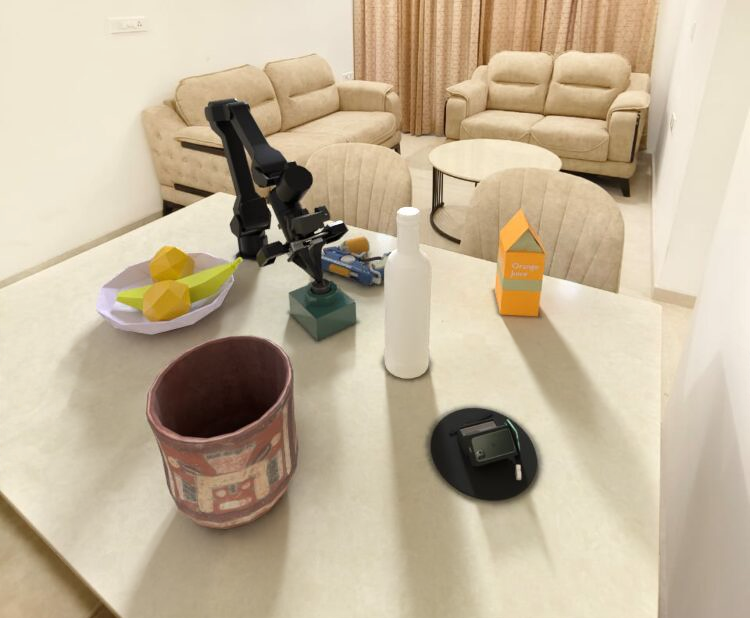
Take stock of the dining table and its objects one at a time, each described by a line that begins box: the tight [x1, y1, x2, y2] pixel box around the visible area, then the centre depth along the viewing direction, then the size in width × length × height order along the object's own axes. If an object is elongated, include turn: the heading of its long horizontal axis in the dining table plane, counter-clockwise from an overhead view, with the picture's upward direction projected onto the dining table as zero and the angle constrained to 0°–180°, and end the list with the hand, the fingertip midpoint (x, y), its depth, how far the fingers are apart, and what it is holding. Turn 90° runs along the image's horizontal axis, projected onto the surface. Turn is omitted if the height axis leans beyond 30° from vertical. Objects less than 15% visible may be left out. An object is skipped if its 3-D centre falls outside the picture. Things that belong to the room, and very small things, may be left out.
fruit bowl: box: [95, 245, 244, 336], centre depth 103 cm, size 28×27×11 cm
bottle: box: [383, 206, 433, 379], centre depth 84 cm, size 8×8×30 cm
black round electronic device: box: [430, 407, 538, 502], centre depth 71 cm, size 15×15×6 cm
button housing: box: [288, 277, 357, 342], centre depth 100 cm, size 11×9×7 cm
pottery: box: [145, 334, 299, 530], centre depth 65 cm, size 18×18×18 cm
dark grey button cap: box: [311, 278, 330, 295], centre depth 99 cm, size 4×4×2 cm
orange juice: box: [494, 208, 547, 317], centre depth 102 cm, size 8×9×20 cm
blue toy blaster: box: [321, 236, 393, 286], centre depth 119 cm, size 21×4×15 cm
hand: (320, 281), depth 98 cm, fingers closed, pressing on dark grey button cap
